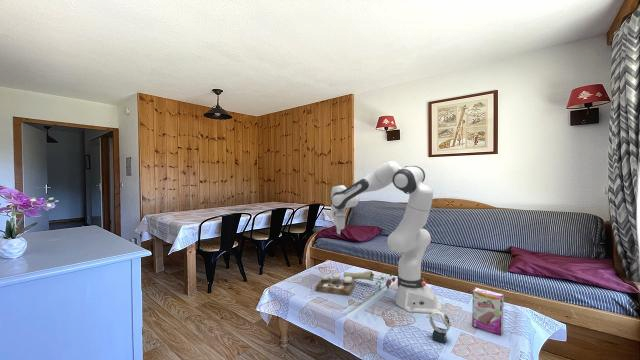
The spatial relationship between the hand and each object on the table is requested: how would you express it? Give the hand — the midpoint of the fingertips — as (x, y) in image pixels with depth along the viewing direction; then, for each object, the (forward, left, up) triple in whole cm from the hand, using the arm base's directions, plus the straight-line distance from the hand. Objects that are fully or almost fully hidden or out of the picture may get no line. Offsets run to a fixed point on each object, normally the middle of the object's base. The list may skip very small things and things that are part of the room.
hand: (338, 233), depth 174 cm
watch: (-55, +42, -31) cm, 76 cm away
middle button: (0, +6, -25) cm, 26 cm away
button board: (0, +8, -31) cm, 32 cm away
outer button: (+7, +6, -27) cm, 28 cm away
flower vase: (-18, -1, -31) cm, 36 cm away
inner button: (-7, +6, -27) cm, 28 cm away
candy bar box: (-75, +28, -31) cm, 86 cm away
